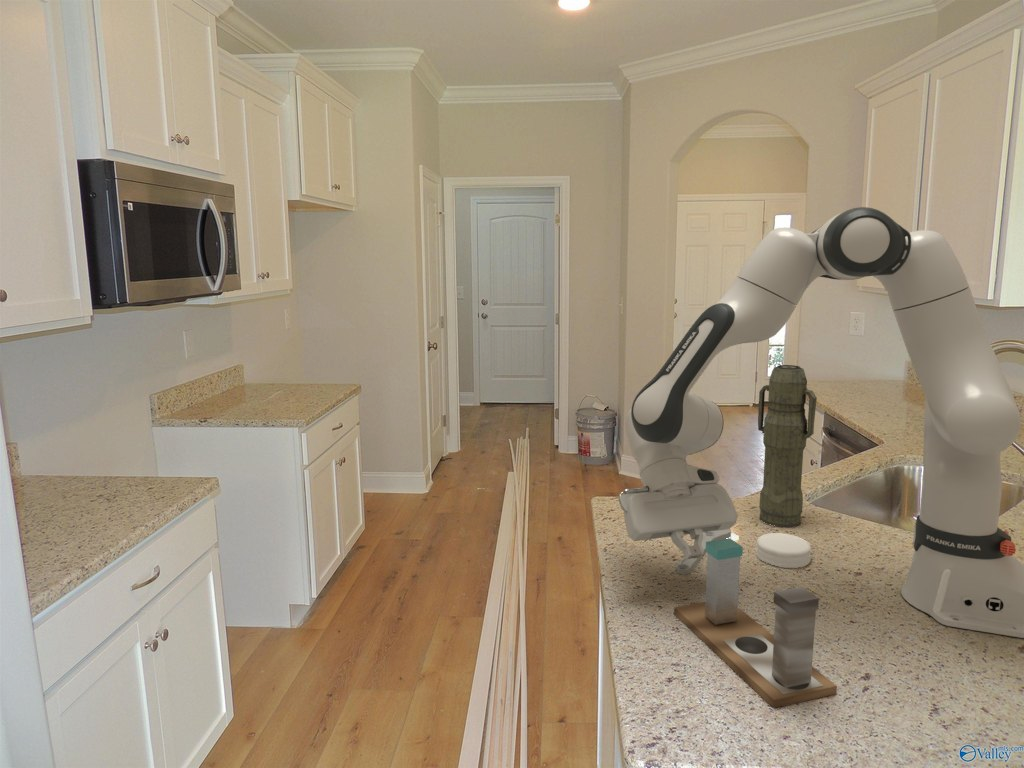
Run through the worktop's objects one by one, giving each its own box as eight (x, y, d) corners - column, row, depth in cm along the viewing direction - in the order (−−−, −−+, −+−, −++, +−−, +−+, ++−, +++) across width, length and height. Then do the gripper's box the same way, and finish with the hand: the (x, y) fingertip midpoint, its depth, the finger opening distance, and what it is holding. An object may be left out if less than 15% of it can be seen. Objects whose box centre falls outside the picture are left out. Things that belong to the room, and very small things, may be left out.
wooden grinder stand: (674, 613, 116) (676, 535, 114) (726, 604, 119) (729, 528, 117) (773, 708, 92) (779, 611, 89) (836, 693, 95) (843, 599, 92)
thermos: (803, 532, 150) (814, 371, 143) (747, 521, 156) (755, 367, 150) (812, 519, 157) (822, 365, 151) (758, 509, 163) (766, 362, 157)
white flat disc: (800, 574, 131) (801, 556, 130) (748, 560, 137) (748, 543, 136) (817, 556, 138) (818, 540, 137) (767, 544, 144) (767, 528, 144)
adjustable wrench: (687, 578, 130) (687, 570, 130) (655, 570, 134) (655, 561, 134) (734, 534, 150) (734, 527, 149) (705, 528, 154) (705, 520, 153)
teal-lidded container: (703, 615, 113) (705, 541, 111) (726, 611, 114) (730, 538, 112) (714, 625, 110) (718, 550, 107) (739, 621, 111) (742, 546, 109)
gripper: (621, 481, 120) (646, 558, 113) (725, 471, 126) (754, 543, 118) (610, 497, 125) (632, 571, 118) (710, 486, 131) (738, 557, 123)
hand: (695, 557), depth 118 cm, fingers closed
